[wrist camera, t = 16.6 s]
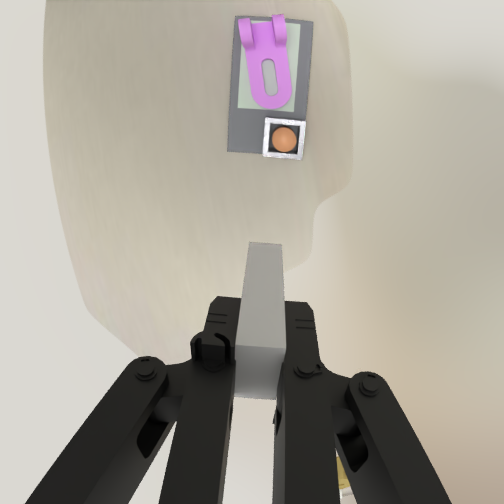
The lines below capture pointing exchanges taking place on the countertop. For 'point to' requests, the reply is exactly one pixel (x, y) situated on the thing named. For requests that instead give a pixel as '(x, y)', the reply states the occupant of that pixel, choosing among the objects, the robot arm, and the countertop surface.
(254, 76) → the bracket
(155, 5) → the countertop surface
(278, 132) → the button
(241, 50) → the grey flat plate
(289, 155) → the button housing
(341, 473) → the cheese
